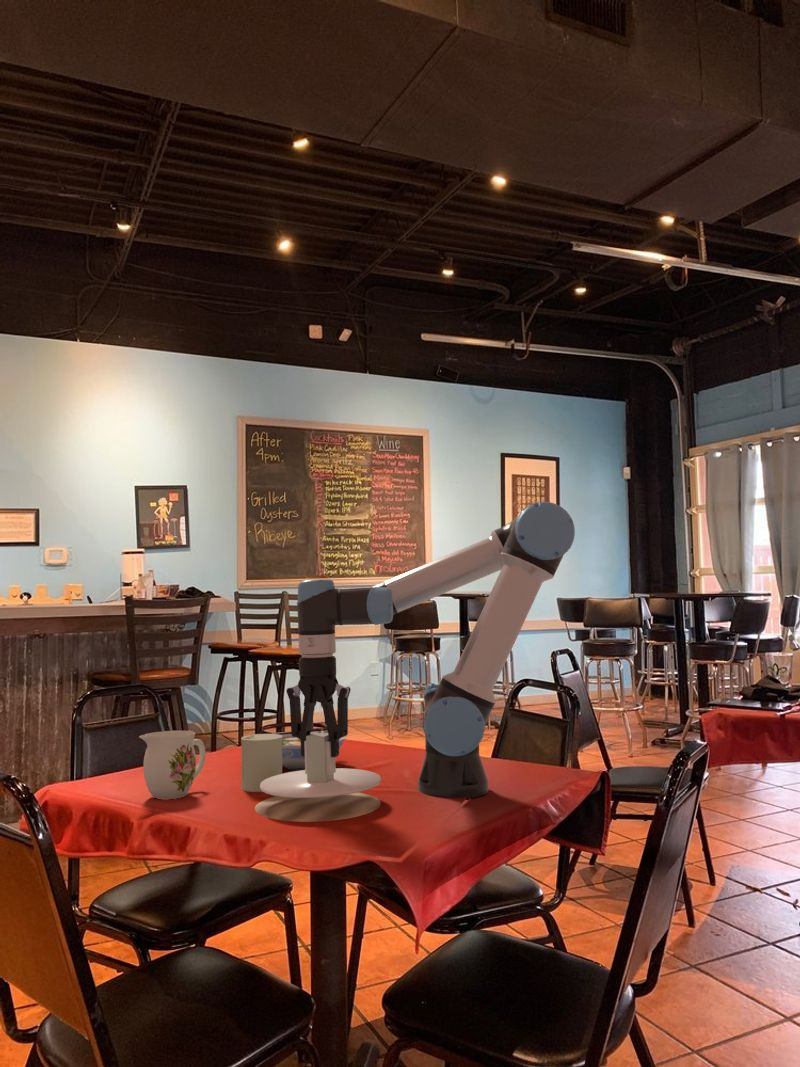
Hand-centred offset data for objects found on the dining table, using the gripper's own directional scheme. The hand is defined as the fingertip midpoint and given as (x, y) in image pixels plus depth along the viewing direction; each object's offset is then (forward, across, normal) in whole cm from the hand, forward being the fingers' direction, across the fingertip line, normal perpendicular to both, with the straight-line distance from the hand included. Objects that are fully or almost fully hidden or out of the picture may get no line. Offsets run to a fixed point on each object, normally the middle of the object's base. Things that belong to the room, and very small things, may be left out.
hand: (320, 772), depth 161 cm
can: (+7, -20, +11) cm, 23 cm away
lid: (+2, 0, 0) cm, 2 cm away
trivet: (+7, -1, 0) cm, 7 cm away
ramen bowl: (+7, -23, +36) cm, 43 cm away
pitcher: (+6, -36, +1) cm, 36 cm away
